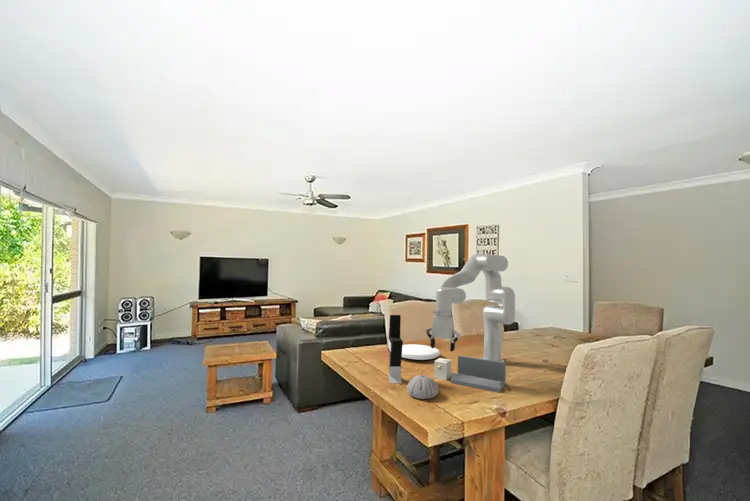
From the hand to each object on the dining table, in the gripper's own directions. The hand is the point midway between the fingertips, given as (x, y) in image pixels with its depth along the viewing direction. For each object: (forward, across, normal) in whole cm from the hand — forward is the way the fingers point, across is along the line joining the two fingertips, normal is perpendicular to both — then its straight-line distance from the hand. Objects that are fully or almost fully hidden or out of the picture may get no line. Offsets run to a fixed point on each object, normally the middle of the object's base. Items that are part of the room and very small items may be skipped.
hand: (442, 349), depth 177 cm
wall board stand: (+13, +17, +1) cm, 22 cm away
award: (+14, -18, -15) cm, 27 cm away
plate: (+13, -26, +28) cm, 40 cm away
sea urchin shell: (+14, +1, -26) cm, 30 cm away
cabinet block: (+13, 0, +1) cm, 13 cm away
